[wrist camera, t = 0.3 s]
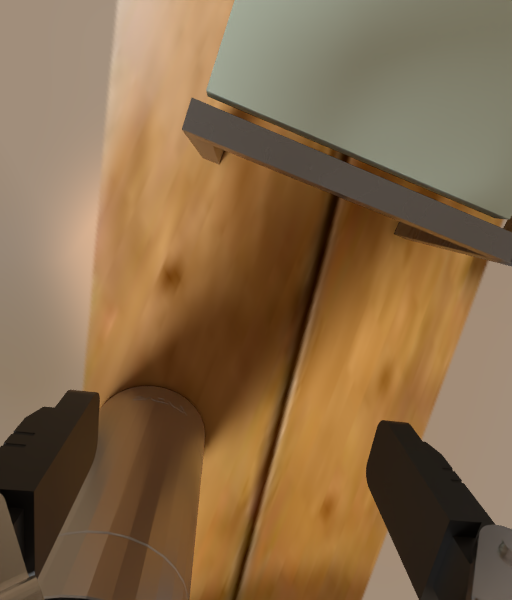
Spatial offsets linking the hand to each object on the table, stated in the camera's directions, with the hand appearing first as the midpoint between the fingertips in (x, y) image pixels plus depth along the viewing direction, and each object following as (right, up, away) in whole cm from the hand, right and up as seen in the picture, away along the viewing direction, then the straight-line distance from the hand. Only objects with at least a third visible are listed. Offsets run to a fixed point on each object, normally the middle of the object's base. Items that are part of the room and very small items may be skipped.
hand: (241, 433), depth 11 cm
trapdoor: (+7, +15, +5) cm, 18 cm away
